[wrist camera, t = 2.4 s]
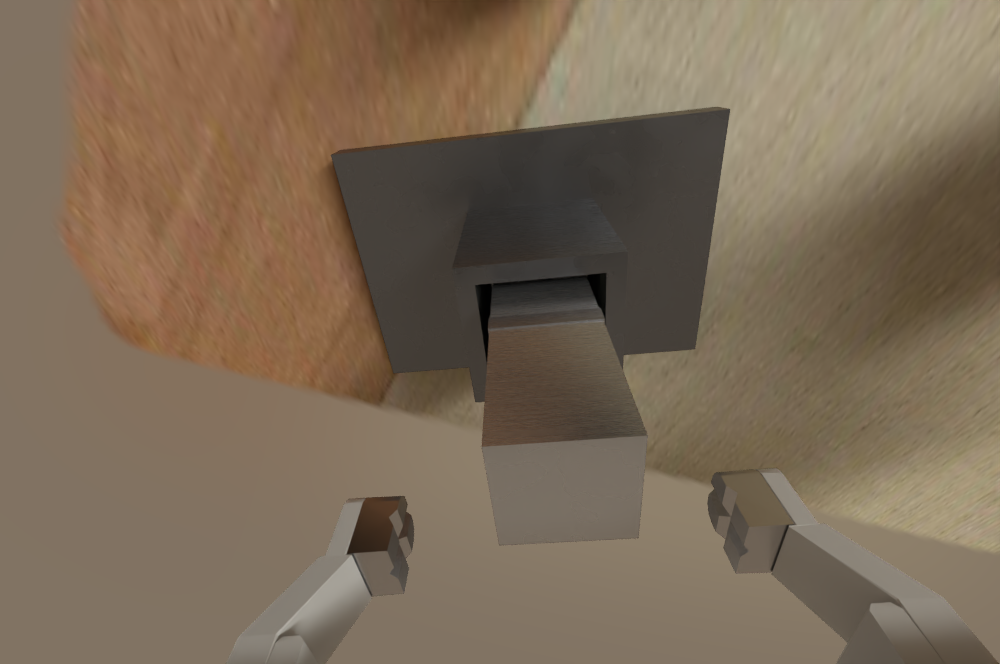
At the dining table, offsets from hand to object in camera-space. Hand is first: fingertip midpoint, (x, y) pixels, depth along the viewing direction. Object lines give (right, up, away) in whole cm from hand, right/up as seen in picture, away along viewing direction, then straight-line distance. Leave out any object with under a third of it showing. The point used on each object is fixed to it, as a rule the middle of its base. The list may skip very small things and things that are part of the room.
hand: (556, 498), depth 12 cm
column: (0, +8, +14) cm, 16 cm away
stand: (+1, +9, +15) cm, 18 cm away
